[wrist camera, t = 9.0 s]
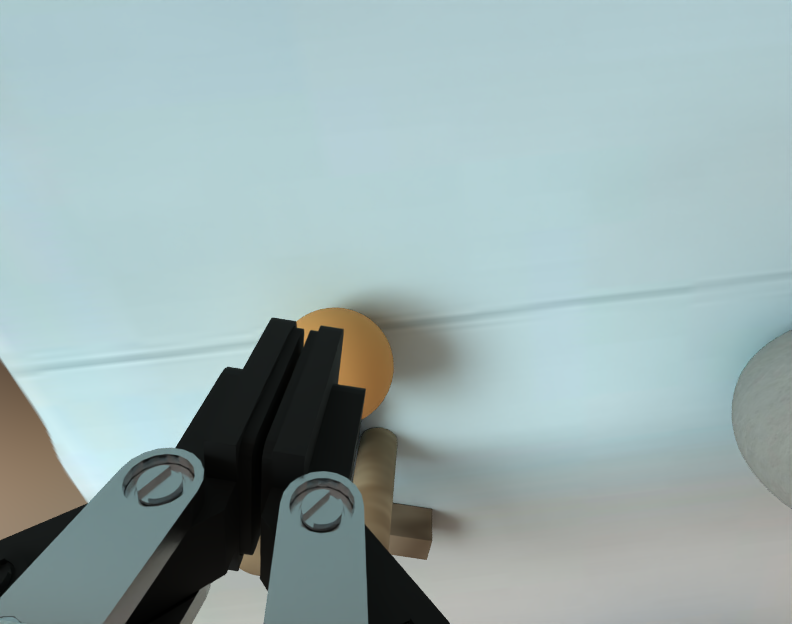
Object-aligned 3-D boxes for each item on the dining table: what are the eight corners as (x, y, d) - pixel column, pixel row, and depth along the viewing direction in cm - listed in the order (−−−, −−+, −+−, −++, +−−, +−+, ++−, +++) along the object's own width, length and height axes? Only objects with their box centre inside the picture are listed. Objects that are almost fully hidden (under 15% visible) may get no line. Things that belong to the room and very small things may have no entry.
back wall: (432, 509, 34) (432, 541, 32) (426, 527, 35) (426, 559, 33) (232, 478, 34) (218, 509, 32) (232, 498, 35) (219, 528, 33)
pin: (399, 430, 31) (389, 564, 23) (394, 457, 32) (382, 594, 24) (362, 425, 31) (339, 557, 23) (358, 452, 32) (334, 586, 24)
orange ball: (371, 464, 25) (392, 378, 29) (391, 382, 21) (411, 300, 26) (255, 434, 25) (294, 354, 30) (254, 348, 21) (299, 273, 26)
